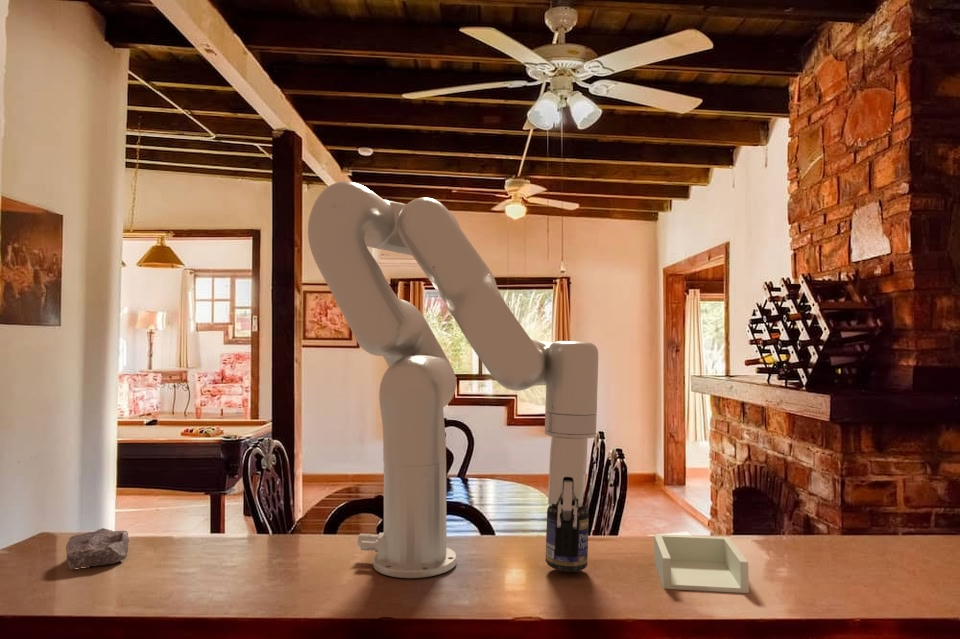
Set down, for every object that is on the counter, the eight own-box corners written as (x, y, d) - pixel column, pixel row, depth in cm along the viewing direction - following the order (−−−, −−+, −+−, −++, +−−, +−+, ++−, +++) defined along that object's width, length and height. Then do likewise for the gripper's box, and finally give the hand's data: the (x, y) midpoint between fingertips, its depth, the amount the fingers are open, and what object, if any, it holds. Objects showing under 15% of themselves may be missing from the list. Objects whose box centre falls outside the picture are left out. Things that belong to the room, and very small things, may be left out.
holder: (663, 588, 87) (663, 558, 87) (654, 561, 98) (654, 534, 98) (748, 593, 85) (748, 562, 85) (729, 564, 96) (729, 537, 96)
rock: (133, 545, 107) (133, 517, 107) (125, 567, 97) (125, 537, 97) (77, 552, 104) (77, 524, 104) (62, 576, 94) (62, 544, 94)
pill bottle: (586, 574, 90) (589, 496, 90) (543, 570, 91) (545, 492, 91) (587, 560, 96) (590, 486, 96) (547, 556, 97) (549, 483, 97)
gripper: (547, 416, 103) (544, 529, 102) (541, 431, 86) (536, 566, 85) (595, 419, 102) (591, 532, 101) (597, 434, 85) (593, 571, 84)
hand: (566, 546), depth 93 cm, fingers closed on pill bottle, 6 cm apart
